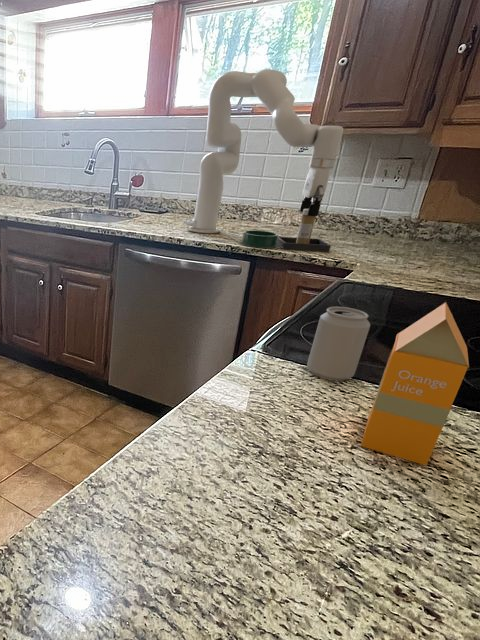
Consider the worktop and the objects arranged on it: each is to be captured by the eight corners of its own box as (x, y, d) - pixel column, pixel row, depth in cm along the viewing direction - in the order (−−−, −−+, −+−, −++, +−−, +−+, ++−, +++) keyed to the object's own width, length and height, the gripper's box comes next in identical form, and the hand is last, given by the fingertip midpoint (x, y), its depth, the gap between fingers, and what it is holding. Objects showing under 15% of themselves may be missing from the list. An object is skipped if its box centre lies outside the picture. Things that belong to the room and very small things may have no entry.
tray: (283, 249, 192) (284, 242, 191) (275, 243, 203) (276, 236, 202) (328, 252, 189) (330, 245, 188) (318, 245, 199) (320, 238, 198)
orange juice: (359, 445, 74) (406, 311, 65) (366, 420, 80) (410, 295, 72) (428, 466, 69) (488, 325, 61) (429, 438, 76) (484, 306, 67)
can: (336, 365, 99) (354, 304, 94) (362, 382, 92) (384, 318, 87) (297, 365, 99) (313, 304, 94) (320, 383, 92) (340, 318, 87)
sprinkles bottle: (310, 246, 195) (319, 209, 190) (305, 248, 192) (315, 210, 187) (297, 244, 198) (306, 207, 193) (292, 246, 195) (301, 209, 190)
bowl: (244, 247, 195) (247, 235, 193) (239, 241, 205) (241, 229, 203) (278, 249, 192) (281, 236, 190) (271, 243, 203) (273, 231, 201)
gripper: (303, 161, 192) (290, 209, 199) (317, 165, 177) (303, 217, 184) (325, 162, 190) (312, 210, 198) (342, 166, 175) (327, 218, 182)
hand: (308, 213), depth 191 cm, fingers open, 9 cm apart
